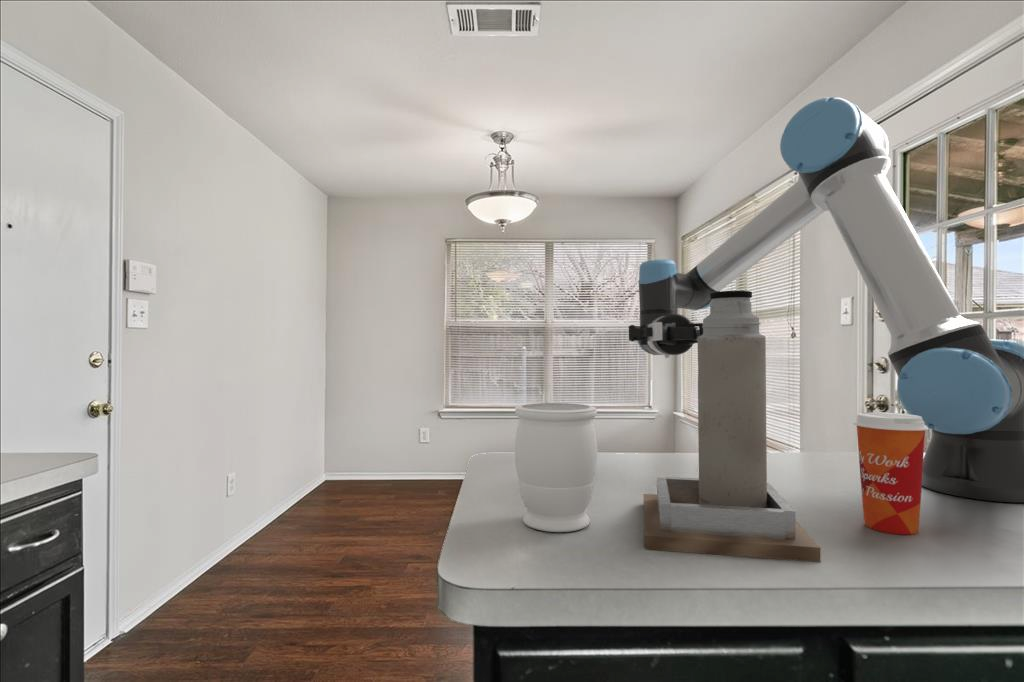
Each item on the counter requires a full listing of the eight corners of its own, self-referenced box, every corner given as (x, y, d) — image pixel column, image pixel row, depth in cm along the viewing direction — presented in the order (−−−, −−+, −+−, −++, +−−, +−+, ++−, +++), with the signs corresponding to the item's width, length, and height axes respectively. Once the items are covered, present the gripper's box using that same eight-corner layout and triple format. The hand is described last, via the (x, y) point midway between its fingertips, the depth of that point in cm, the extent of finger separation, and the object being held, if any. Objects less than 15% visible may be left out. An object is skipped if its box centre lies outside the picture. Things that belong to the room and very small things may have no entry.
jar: (604, 515, 75) (603, 403, 75) (589, 540, 65) (588, 412, 66) (528, 508, 79) (528, 401, 79) (503, 531, 69) (503, 409, 69)
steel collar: (767, 504, 75) (767, 481, 75) (797, 540, 61) (796, 512, 61) (656, 497, 78) (656, 476, 78) (660, 531, 64) (660, 504, 64)
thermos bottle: (693, 503, 75) (691, 294, 75) (755, 504, 74) (753, 292, 74) (706, 522, 67) (704, 289, 67) (776, 524, 66) (774, 287, 66)
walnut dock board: (779, 512, 76) (779, 501, 76) (820, 562, 59) (820, 547, 59) (643, 504, 80) (643, 493, 80) (644, 548, 63) (644, 535, 63)
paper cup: (840, 522, 72) (839, 413, 72) (880, 515, 75) (879, 410, 75) (904, 542, 65) (903, 420, 65) (945, 533, 68) (943, 417, 68)
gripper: (737, 353, 105) (789, 353, 84) (604, 355, 106) (622, 356, 85) (736, 313, 105) (788, 303, 84) (603, 316, 106) (621, 307, 85)
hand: (705, 330), depth 85 cm, fingers open, 13 cm apart
